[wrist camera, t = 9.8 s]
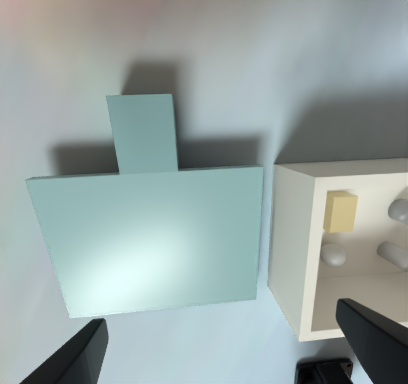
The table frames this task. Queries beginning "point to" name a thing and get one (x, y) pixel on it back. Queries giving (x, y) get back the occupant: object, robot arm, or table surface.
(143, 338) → the table surface
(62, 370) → the robot arm
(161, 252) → the lid
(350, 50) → the table surface
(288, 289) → the tub
